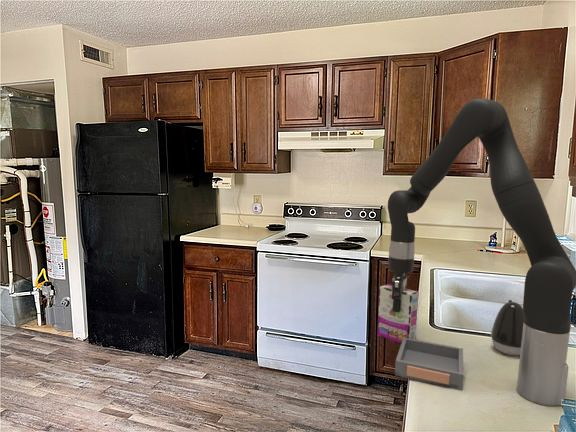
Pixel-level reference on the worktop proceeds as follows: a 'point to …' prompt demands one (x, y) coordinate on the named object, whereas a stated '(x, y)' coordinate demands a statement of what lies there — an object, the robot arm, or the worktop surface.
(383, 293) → the candy bar box
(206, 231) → the worktop surface
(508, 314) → the black rounded cone
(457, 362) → the labelled tray
